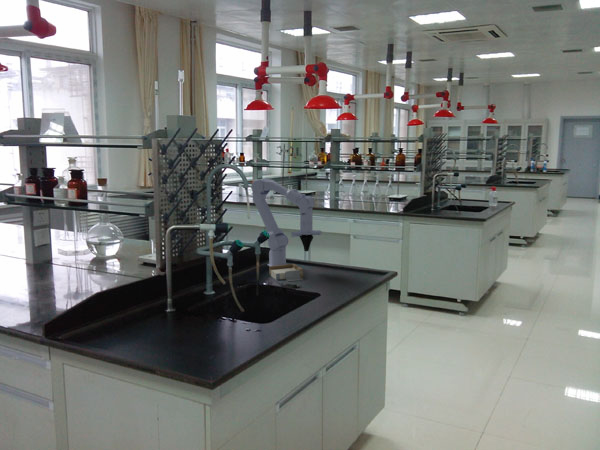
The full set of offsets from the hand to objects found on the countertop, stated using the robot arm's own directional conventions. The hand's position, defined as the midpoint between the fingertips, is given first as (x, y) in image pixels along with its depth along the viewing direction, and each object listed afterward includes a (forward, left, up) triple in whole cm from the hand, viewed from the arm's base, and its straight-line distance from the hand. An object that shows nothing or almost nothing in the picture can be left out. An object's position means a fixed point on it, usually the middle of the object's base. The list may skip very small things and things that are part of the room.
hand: (306, 250), depth 245 cm
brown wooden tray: (+6, -13, -9) cm, 17 cm away
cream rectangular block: (+6, -13, -10) cm, 18 cm away
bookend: (+13, -11, -9) cm, 20 cm away
